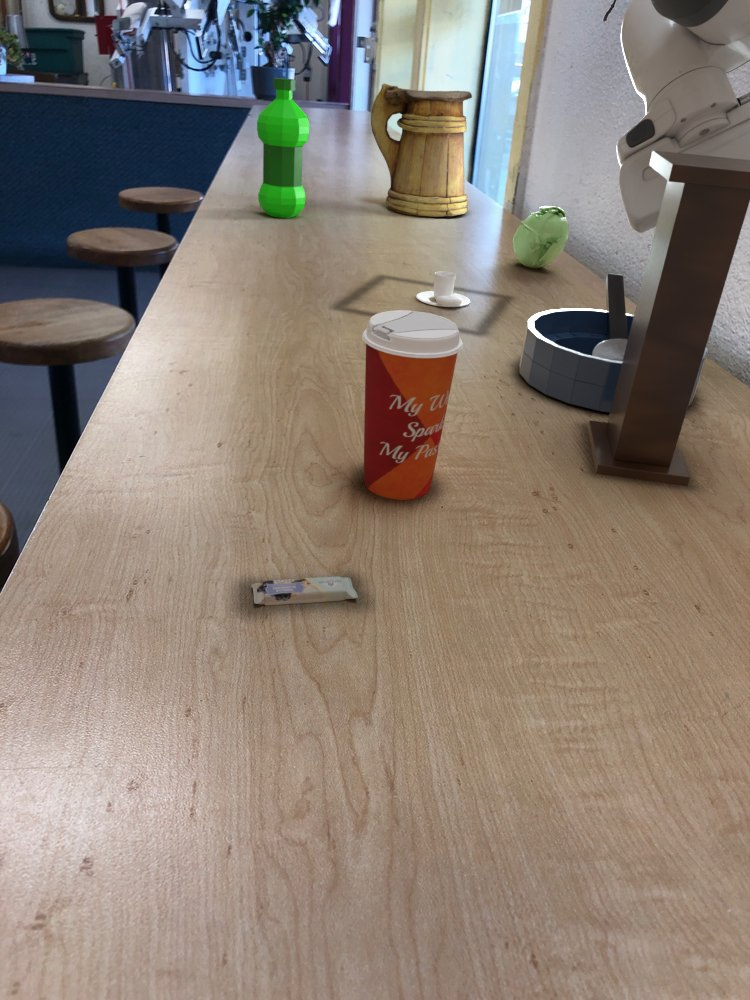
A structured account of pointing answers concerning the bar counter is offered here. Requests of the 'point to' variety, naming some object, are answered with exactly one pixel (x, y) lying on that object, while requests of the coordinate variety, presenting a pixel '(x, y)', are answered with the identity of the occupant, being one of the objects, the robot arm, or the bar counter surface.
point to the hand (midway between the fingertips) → (739, 225)
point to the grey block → (614, 321)
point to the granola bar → (303, 590)
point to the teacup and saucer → (443, 292)
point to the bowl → (573, 357)
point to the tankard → (423, 150)
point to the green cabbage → (541, 237)
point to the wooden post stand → (673, 316)
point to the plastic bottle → (282, 152)
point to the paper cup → (406, 399)
